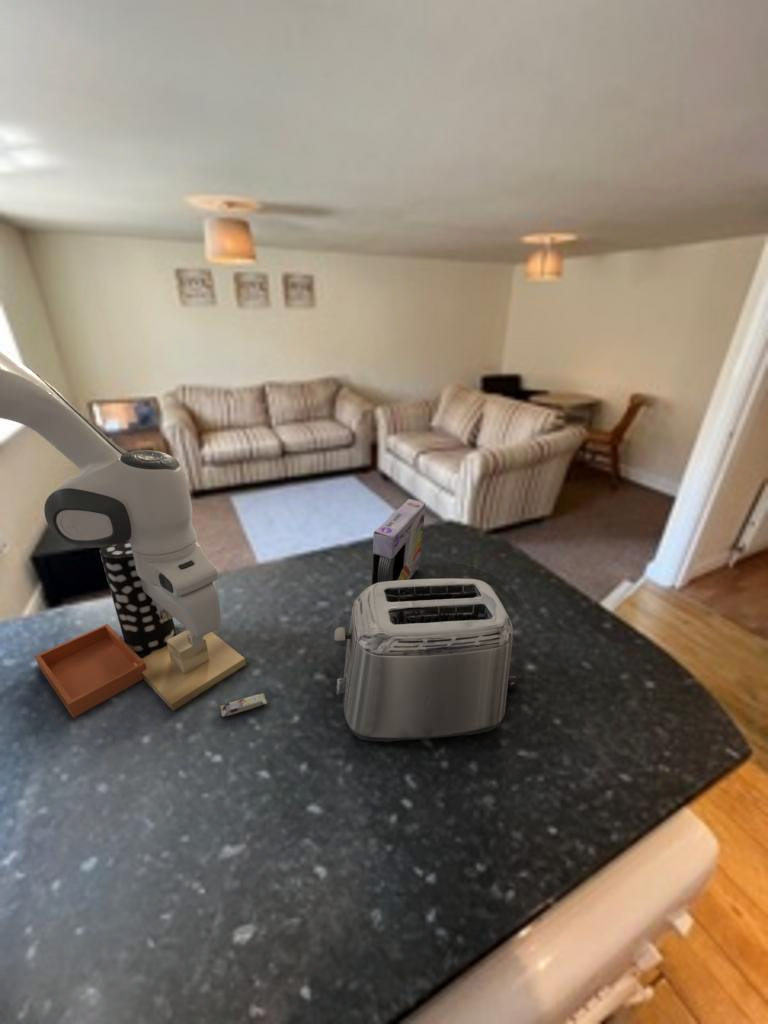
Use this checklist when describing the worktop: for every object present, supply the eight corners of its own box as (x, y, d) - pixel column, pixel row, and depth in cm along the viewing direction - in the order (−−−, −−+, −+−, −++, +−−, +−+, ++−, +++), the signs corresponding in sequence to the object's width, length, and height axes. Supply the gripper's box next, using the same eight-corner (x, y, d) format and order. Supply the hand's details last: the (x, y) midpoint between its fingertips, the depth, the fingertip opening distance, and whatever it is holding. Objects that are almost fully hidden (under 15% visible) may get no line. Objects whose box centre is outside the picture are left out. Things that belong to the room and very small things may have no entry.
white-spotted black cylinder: (180, 644, 82) (160, 549, 73) (129, 662, 77) (102, 563, 69) (171, 620, 88) (151, 529, 79) (123, 635, 84) (97, 541, 75)
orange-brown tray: (39, 668, 75) (34, 655, 74) (110, 635, 83) (107, 623, 82) (73, 718, 67) (68, 704, 66) (148, 675, 75) (145, 663, 74)
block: (170, 661, 76) (166, 640, 74) (195, 647, 79) (191, 627, 77) (184, 674, 73) (179, 653, 71) (209, 659, 76) (205, 638, 75)
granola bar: (264, 695, 72) (264, 690, 71) (267, 706, 70) (266, 701, 69) (220, 708, 69) (219, 703, 69) (221, 719, 67) (221, 714, 67)
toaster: (336, 666, 78) (334, 573, 70) (501, 659, 80) (517, 569, 73) (335, 754, 63) (332, 648, 55) (538, 741, 65) (564, 638, 57)
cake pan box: (388, 612, 92) (391, 536, 84) (366, 605, 94) (368, 530, 86) (421, 568, 108) (427, 501, 100) (402, 563, 110) (406, 497, 102)
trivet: (134, 669, 76) (133, 663, 75) (205, 631, 85) (204, 625, 84) (173, 711, 68) (171, 704, 68) (245, 664, 78) (245, 658, 77)
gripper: (116, 541, 71) (132, 612, 77) (181, 592, 60) (195, 671, 65) (155, 528, 76) (168, 596, 81) (223, 574, 64) (233, 649, 70)
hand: (181, 630), depth 73 cm, fingers open, 8 cm apart
